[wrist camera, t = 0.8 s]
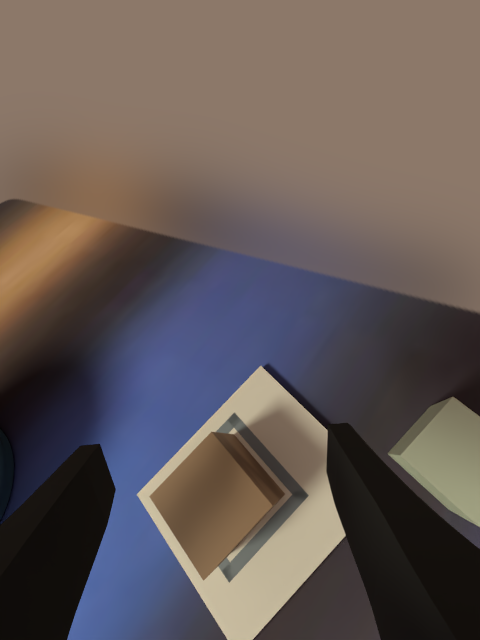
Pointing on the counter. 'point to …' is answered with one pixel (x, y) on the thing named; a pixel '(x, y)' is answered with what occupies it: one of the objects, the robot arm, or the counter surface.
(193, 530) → the walnut block
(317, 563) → the cream square tray
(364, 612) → the counter surface
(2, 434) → the canister
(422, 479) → the sage block
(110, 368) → the counter surface
